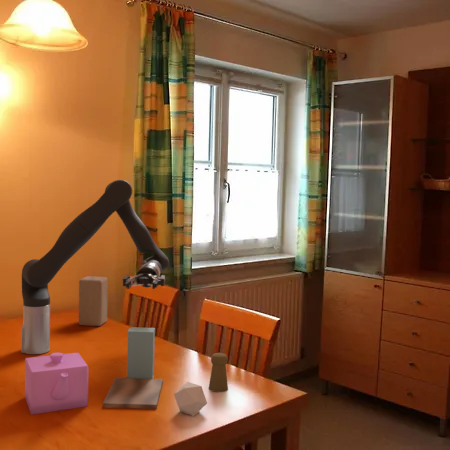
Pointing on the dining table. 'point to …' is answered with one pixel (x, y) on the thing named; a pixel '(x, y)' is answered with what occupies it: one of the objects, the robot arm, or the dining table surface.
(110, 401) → the board
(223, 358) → the cork
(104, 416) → the dining table surface
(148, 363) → the pillar
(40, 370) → the teapot
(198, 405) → the die
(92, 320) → the block
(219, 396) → the dining table surface
